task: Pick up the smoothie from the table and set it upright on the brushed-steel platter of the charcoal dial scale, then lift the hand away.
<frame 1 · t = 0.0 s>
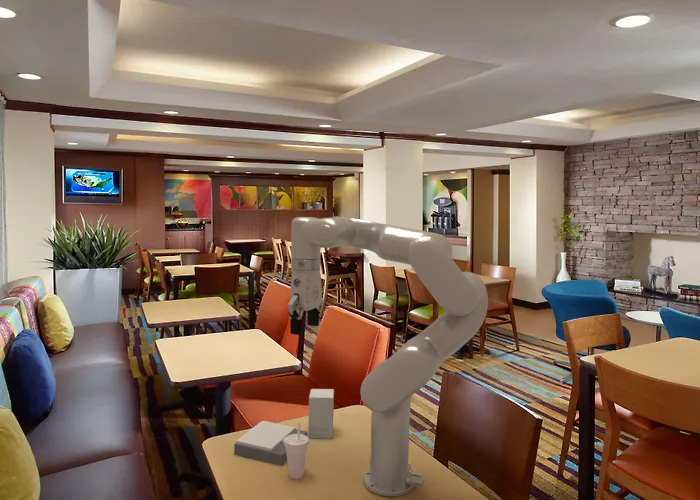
hand: (305, 329, 133), 37 cm above the table, tool pointing down, fingers open, 9 cm apart
supplement box: (320, 433, 155), on the table
smoothie: (296, 475, 131), on the table
scale: (271, 447, 145), on the table
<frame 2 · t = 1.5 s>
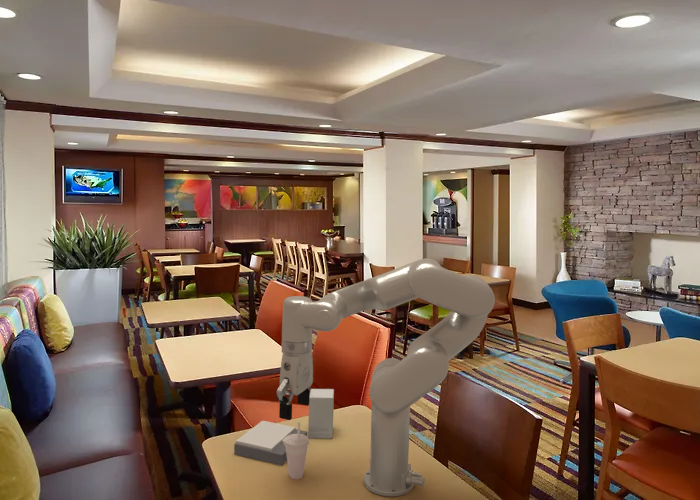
hand: (294, 411, 129), 17 cm above the table, tool pointing down, fingers open, 9 cm apart
nothing on the table moved.
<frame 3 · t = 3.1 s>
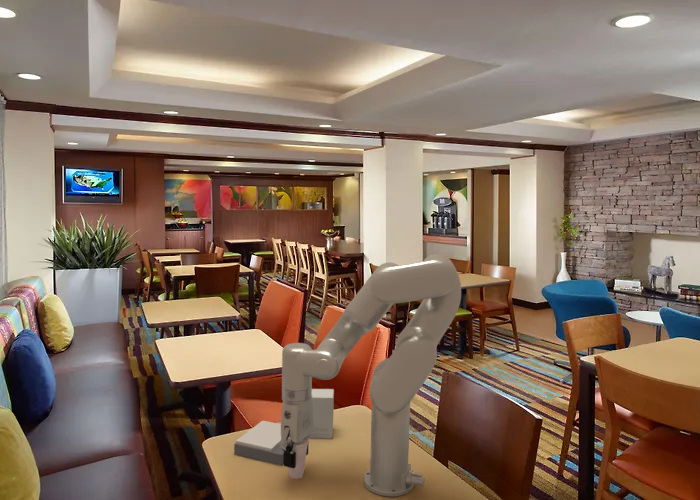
hand: (296, 459, 130), 4 cm above the table, tool pointing down, fingers closed on smoothie, 6 cm apart
smoothie: (296, 475, 131), on the table, touching gripper
everything else where it was.
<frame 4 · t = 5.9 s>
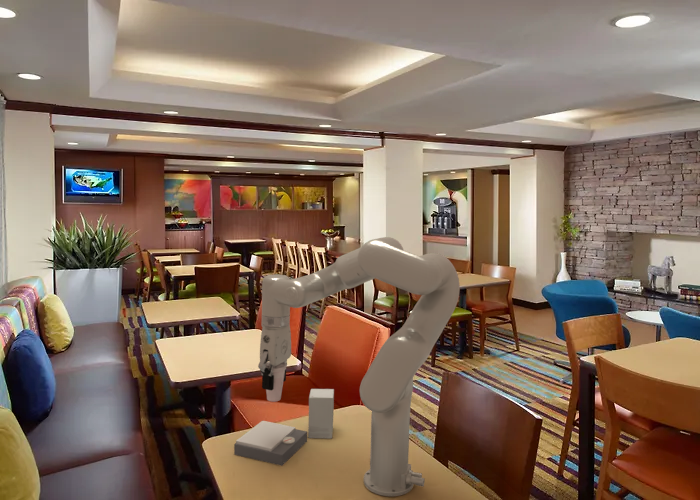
hand: (274, 384, 139), 20 cm above the table, tool pointing down, fingers closed on smoothie, 6 cm apart
smoothie: (273, 399, 139), point 16 cm above the table, touching gripper
everything else where it was.
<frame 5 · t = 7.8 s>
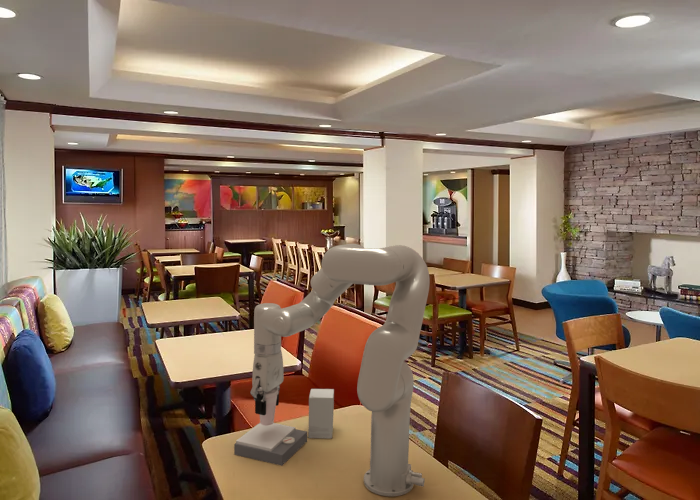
hand: (267, 408, 144), 11 cm above the table, tool pointing down, fingers closed on smoothie, 6 cm apart
smoothie: (266, 423, 145), point 7 cm above the table, touching gripper
everything else where it was.
when the fingers open (9 cm above the table, at t = 9.1 s): smoothie drops 1 cm, resting on scale.
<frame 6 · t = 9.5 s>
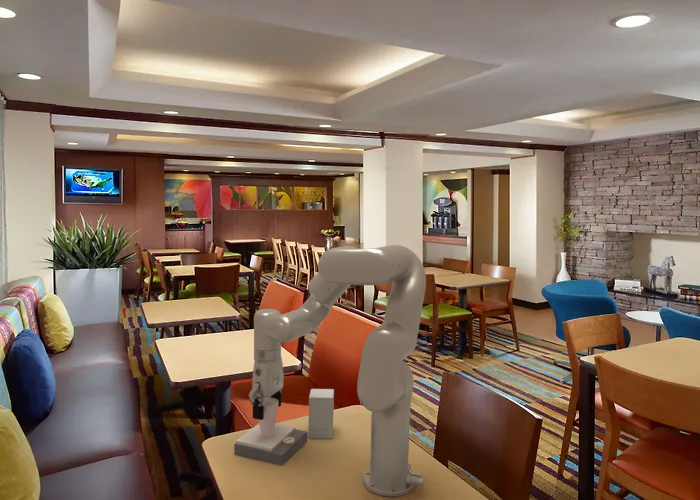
hand: (267, 412, 144), 10 cm above the table, tool pointing down, fingers open, 9 cm apart
smoothie: (267, 435, 145), point 4 cm above the table, touching scale
everything else where it was.
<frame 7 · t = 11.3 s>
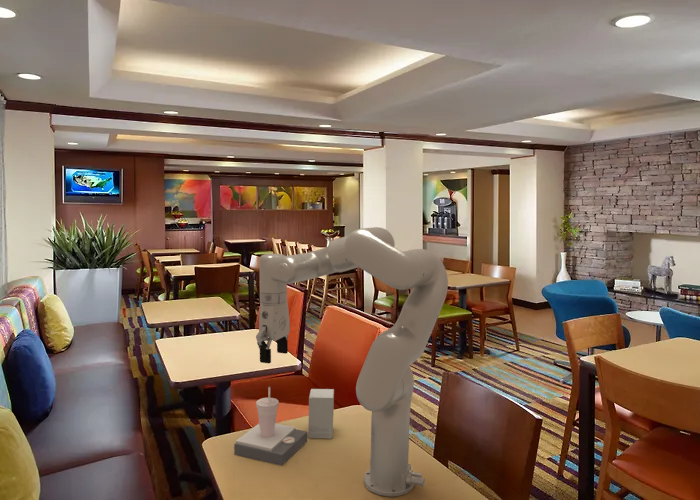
hand: (274, 357, 144), 26 cm above the table, tool pointing down, fingers open, 9 cm apart
nothing on the table moved.
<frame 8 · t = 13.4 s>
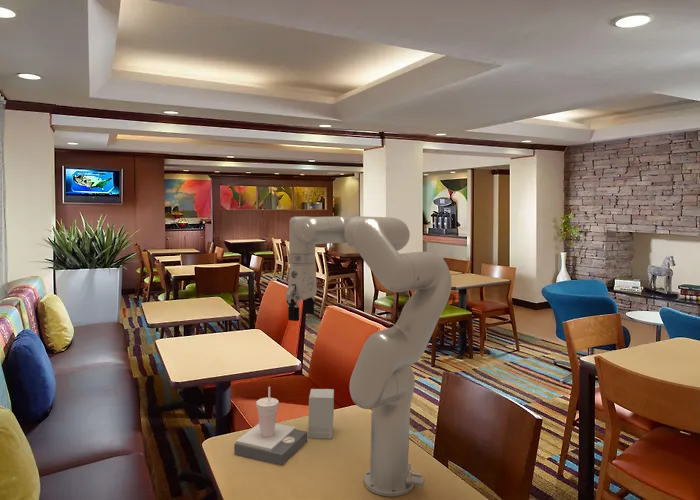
hand: (301, 316, 149), 36 cm above the table, tool pointing down, fingers open, 9 cm apart
nothing on the table moved.
at the end: smoothie inside the target area on the scale (0.5 cm from its centre), point 3.6 cm above the scale's base; smoothie tilted 0°; the gripper is holding nothing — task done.
